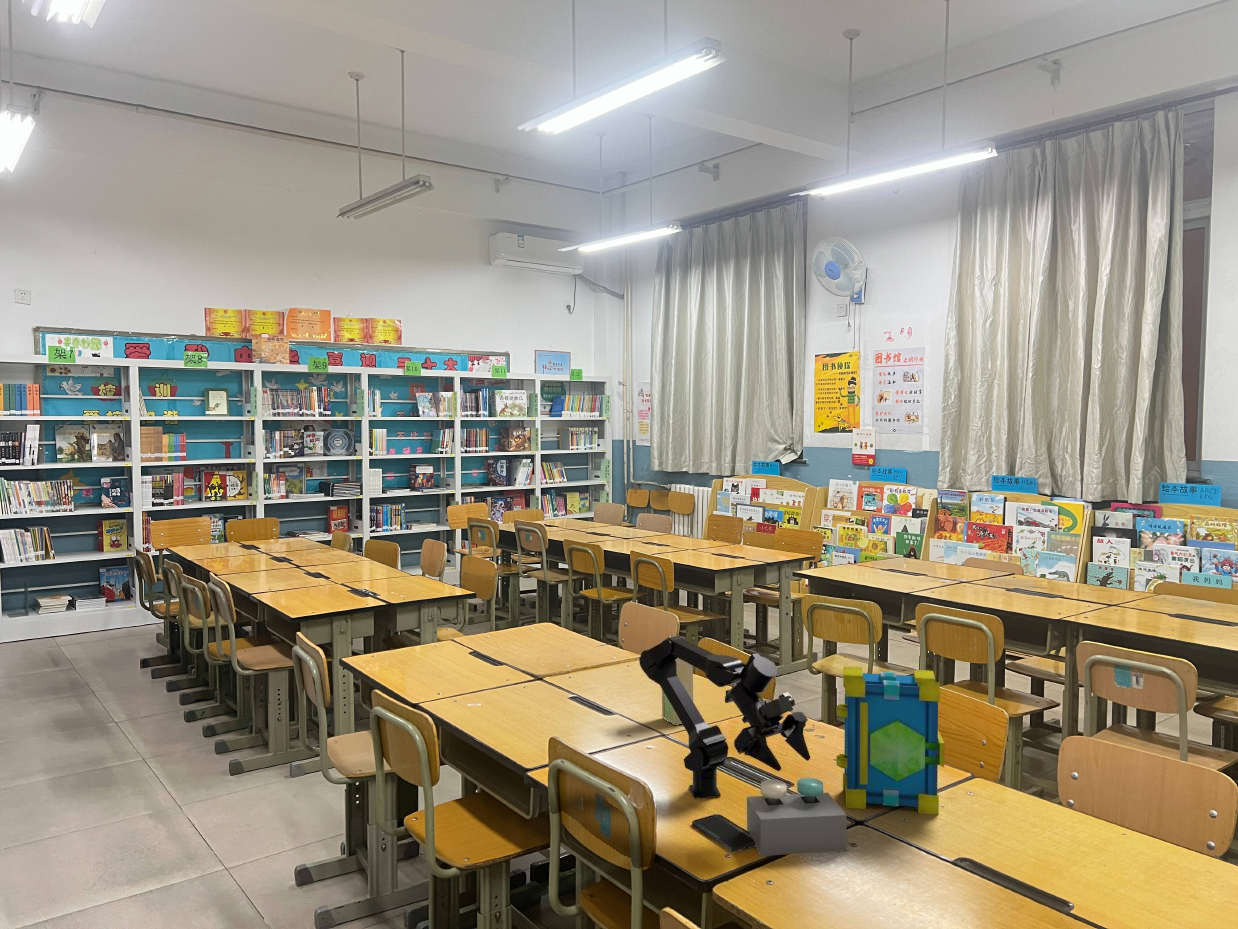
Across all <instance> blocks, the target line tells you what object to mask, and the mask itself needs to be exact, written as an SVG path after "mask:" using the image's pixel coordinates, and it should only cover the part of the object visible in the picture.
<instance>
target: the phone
mask: <svg viewBox="0 0 1238 929" xmlns="http://www.w3.org/2000/svg"><path fill="white" fill-rule="evenodd" d="M691 826H692V827H693V829H696V830H697V831H698V832H700V833H702V834H703V835H705V836H706V837H707V838H709V839H711V840H712V841H713V842H715V843H717V844H718V845H720V846H721V847H723V848H724V849H726V850H727V851H729V852H730V853H738V852H742V851H744V850H747V849H751V848H755V842H754V840H753V839H752V837H751V835H750V833H749V832H748V831H747V829H744V828H743V827H741V826H740V825H738V824H736V823H735V822H734V821H731V820H730V819H728V818H727V817H725V816H723V815H722V814H718V813H716V814H711V815H708V816H705V817H701V818H697V819H693V820H692V821H691Z"/></svg>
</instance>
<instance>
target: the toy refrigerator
mask: <svg viewBox="0 0 1238 929" xmlns="http://www.w3.org/2000/svg"><path fill="white" fill-rule="evenodd" d="M675 661H676V663H677V676H678V678H679V679H680V681H681V683H682V684H683V686H684V688H685V689H686V691H687V693H688V694H689V696H690V698H691V699H692V701H693V702H694V666H692V665H690V664H688V663H687V662H685V661H683V660H681V659H679V658H677V659H676V660H675ZM661 710H662V711H661V717H663V718H665V719H666V720H668V721H669V722H671V723H672V724H673V725H672V724H671V723H670V724H671V725H672V726H674V725H677V726H680V725H679V724H682V722H681V721H680V719H679V717H678V715H677V714H676V712H675V710H674V709H673V707H672V705H671V703H670V702H669V700H668V698H667V697H666V695H665V693H664V691H663V690H662V689H661ZM663 718H662V719H663ZM666 720H665V721H666ZM668 721H667V722H668ZM669 722H668V723H669Z"/></svg>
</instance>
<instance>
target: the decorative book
mask: <svg viewBox="0 0 1238 929" xmlns="http://www.w3.org/2000/svg"><path fill="white" fill-rule="evenodd" d="M842 668H843V670H842V672H843V673H842V676H843V677H842V678H843V679H842V682H843V688H844V703H843V704H842V703H841V704H837V705H836V716H838V717H839V718H843V719H844V753H839V754H838V755H836V759H835V760H836V762H835V765H836V766H837V767H839V768H841V769H844V772H842V791H844V792H845V808H849V809H862V810H866V809H867V804H875V805H876V804H877V805H882V806H886V807H887V806H888V807H889V806H890V807H899V806H900V807H915V808H917V812H918V814H925V815H935V814H936V815H937V816H938V815H939V814H940V813H939V810H940V809H939V807H940V801H939V800H940V799H939V798H940V796H939V793H938V774H939V773H938V770H939V769H938V767H939V766H940V767H941V768H945V741H944V739H943V737H942V734H941V732H940V730H939V702H940V699H941V697H940V696H941V691H940V690H941V687H940V686H941V682H938V681H936V678H935V674H934V671H933V670H920V669H913V675H907V674H905V675H904V674H896V672H893V671H891V672H889V671H888V672H887V671H880V672H879V673H868V672H865V673H864V672H863V667H862V666H861V667H859V666H842Z"/></svg>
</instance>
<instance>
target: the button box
mask: <svg viewBox="0 0 1238 929" xmlns="http://www.w3.org/2000/svg"><path fill="white" fill-rule="evenodd" d="M847 821H848V820H847V813H846V812H845V811H844V810H843V809H842V807H841V806H840V805H839V803H838V802H836V800H835V799H834V798H833V797H832V795H831V794H830V793H829V792H823V794H822V795H820V796H815V803H805V795H802V794H800V793H795V794H791V793H789V794H786V796H785V797H783V798H778V805H769V798H768V797H765V796H763V795H755V796H754V795H753V796H747V797H746V831H748V832H749V833H750V835H751V837H752V839H753V840H754V842H755V846H754V848H756V850H757V852H758V854H759V856H760V857H765V856H766V857H767V856H783V855H784V856H785V855H797V854H801V855H802V854H817V853H832V852H833V853H834V852H846V851H847V824H848V823H847Z"/></svg>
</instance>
